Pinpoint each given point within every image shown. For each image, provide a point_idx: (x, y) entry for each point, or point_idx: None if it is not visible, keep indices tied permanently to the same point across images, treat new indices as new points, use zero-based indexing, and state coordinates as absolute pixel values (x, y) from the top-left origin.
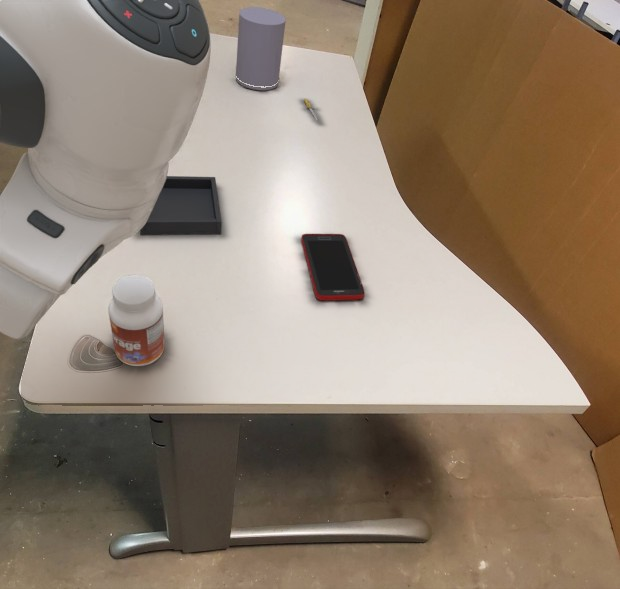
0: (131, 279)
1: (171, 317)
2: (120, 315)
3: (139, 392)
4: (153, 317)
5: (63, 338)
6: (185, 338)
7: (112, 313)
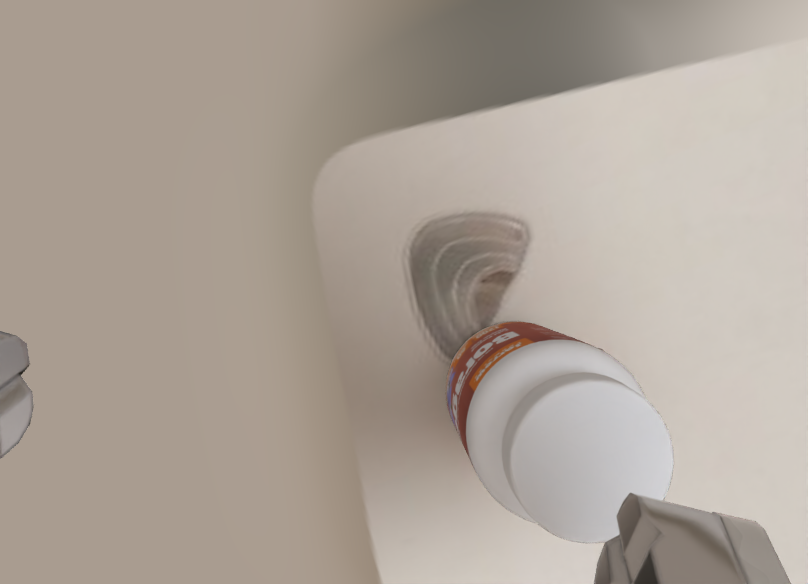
0: (643, 436)
1: None
2: (496, 411)
3: (371, 430)
4: (520, 515)
5: (503, 174)
6: None
7: (504, 377)
